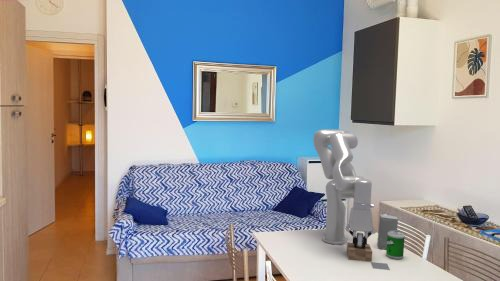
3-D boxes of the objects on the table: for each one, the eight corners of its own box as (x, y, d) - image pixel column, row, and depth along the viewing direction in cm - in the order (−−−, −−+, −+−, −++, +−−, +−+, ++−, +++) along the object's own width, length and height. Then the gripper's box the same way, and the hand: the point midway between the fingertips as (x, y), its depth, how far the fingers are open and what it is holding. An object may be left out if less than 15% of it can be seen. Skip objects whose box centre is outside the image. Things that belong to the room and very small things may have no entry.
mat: (370, 262, 174) (370, 262, 174) (387, 264, 173) (387, 263, 173) (372, 269, 167) (372, 268, 167) (390, 270, 166) (390, 269, 166)
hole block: (346, 252, 186) (347, 242, 186) (368, 254, 184) (369, 244, 184) (348, 260, 176) (349, 249, 176) (371, 262, 175) (372, 251, 174)
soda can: (402, 255, 184) (403, 230, 183) (404, 261, 177) (405, 235, 176) (385, 253, 186) (386, 228, 185) (386, 259, 179) (388, 233, 178)
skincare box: (378, 248, 193) (380, 217, 191) (377, 244, 200) (378, 213, 198) (396, 250, 191) (398, 218, 189) (394, 245, 198) (396, 215, 196)
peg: (355, 253, 182) (356, 232, 181) (361, 253, 181) (363, 232, 181) (355, 255, 179) (357, 234, 178) (362, 256, 179) (363, 234, 178)
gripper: (379, 205, 181) (376, 244, 182) (342, 203, 183) (340, 241, 185) (382, 209, 173) (379, 250, 175) (343, 206, 176) (341, 246, 178)
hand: (359, 245), depth 180 cm, fingers open, 3 cm apart
